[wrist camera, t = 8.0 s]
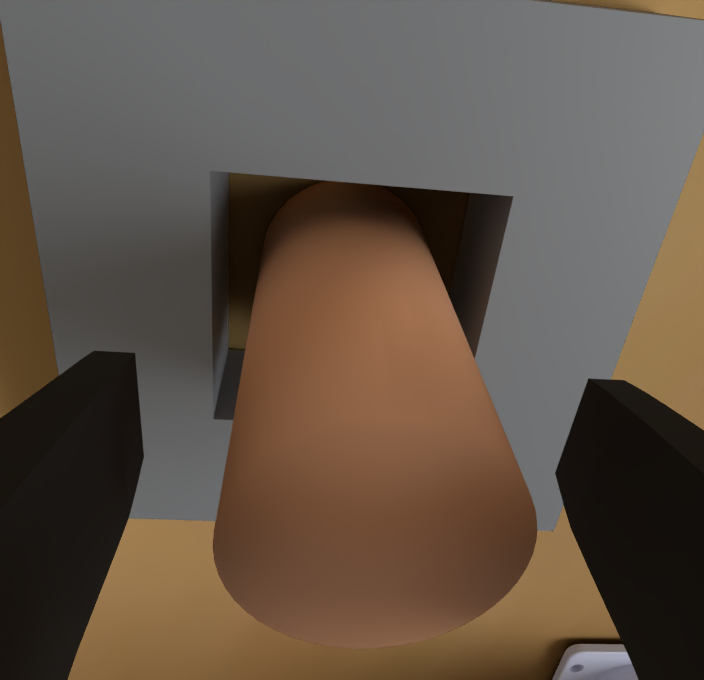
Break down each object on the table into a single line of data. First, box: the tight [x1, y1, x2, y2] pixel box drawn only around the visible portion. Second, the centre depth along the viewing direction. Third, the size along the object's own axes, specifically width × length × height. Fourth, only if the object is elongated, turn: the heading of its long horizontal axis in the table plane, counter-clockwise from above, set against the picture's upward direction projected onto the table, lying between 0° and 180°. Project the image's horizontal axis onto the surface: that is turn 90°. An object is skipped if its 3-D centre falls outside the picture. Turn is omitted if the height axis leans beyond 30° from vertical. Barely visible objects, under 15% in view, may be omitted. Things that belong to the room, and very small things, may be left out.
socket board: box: [0, 0, 704, 531], centre depth 14 cm, size 12×12×3 cm
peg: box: [213, 181, 537, 649], centre depth 12 cm, size 4×4×9 cm
